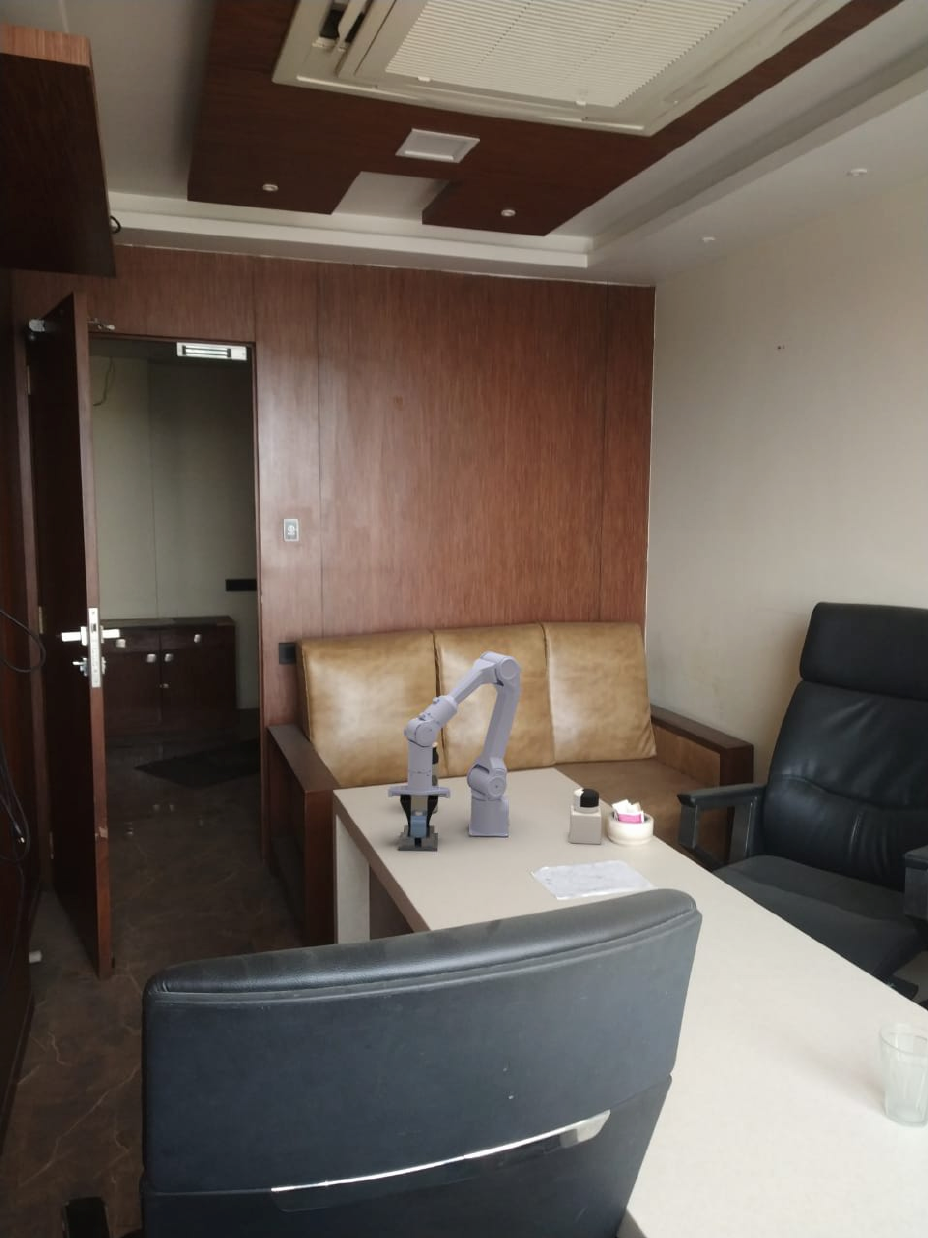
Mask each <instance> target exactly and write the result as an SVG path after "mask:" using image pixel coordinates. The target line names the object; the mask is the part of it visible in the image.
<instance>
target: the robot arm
mask: <svg viewBox="0 0 928 1238" xmlns="http://www.w3.org/2000/svg"><path fill="white" fill-rule="evenodd" d="M522 671H523V669H522V667H521V665H520V663H519V662H518V661H517V659H516V658H515V657H513V656H510V655H506V654H501V653H497V652H495V651H492V650H488V651H485V652H483V653H482V654H481V655H480V656H479V658H477V659H476V660H474V661H473V664H472V667H471V668H470V669H469V671H468V672H467V673H466V674H465V675H464V676H463V677H462V679H460V681H459V682H458V683H457V684H456V685H455V686H454V688H452V690H451V691H450V692H449V693H447V695H439V696H438V697H437V696H436V697H434V698H433V699H432V703H431V704H430V705H429V706H428V707H427V708H425V710H424V711H423V712H420V713H419V714H418V717H415V718H412V719H410V720H409V721H408V722H407V724H406V726H405V728H404V729H403V734H404V737H405V739H407V784H406V785H397V786H393V785H392V786H391V785H390V786H388V789H387V790H388V792H387V794H388V795H387V797H389V798H391V797H399V798H400V799H399V802H400V804H401V807H402V810H403V811H404V814H405V817H406V821H407V822H406V823H407V825H408V828H411V824H410V823H411V796H418V797H428V800H427V821H426V828H429V825H431V819H432V816H433V814H434V813H433V811H434V809H435V807H436V805H437V803H438V804H439V798H445V799H451V787H444V786H438V787H437V786H432V749H433V743H434V742H437V740H438V736H439V733H440V732H441V729H443V728H444V726H446V724H448V723H449V721H450V720H452V718H454V716H455V715H456V714H457V713H458V707H459V705H460V704H461V703H462V702H463V701H465V699H467V698H468V697H469V696H470V695H471V694H472V693H474V692H475V691H476V689H478V688H479V687H480V686H481V685H487V684H492V686H493V687H494V689H495V690H496V692H497V695H496V698H495V701H494V706H493V711H492V714H491V717H490V721H489V726H488V728H487V733H486V737H485V740H484V743H483V747H482V752H481V754H480V755H478V756H477V757H476V758H474V760H473V764H472V766H471V767H470V769H469V770H468V772H467V774H466V784H467V786H468V787H469V788H470V793H471V795H470V797H471V798H470V801H471V802H470V807H471V808H470V822H469V823H468V835H469V836H471V837H472V836H474V837H509V827H510V818H509V817H510V800H509V799H510V798H509V796H507V795H504V793H505V792H506V790H507V786H508V784H507V775H508V769H507V766H506V764H505V762H504V758H505V754H506V750H507V747H508V744H509V739H510V736H511V732H512V728H513V724H514V720H515V717H516V713H517V709H518V705H519V702H520V697H521V694H522V685H521V677H520V676H521V673H522Z"/></svg>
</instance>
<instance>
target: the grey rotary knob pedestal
mask: <svg viewBox="0 0 928 1238" xmlns="http://www.w3.org/2000/svg"><path fill="white" fill-rule="evenodd" d="M599 805H600V793H599V792H598V791H596V790H594V789H592V788H579V789H576V790H575V791H574V792H573V805H572V804H571V805H570V817H569V818H570V819H569V842H570V844H582V845H583V844H585V845H601V843H602V842H601V839H602V838H601V837H602V819H603V818H602V812H601V811H602V810H601V807H600V806H599Z"/></svg>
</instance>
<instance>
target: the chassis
mask: <svg viewBox="0 0 928 1238" xmlns="http://www.w3.org/2000/svg"><path fill="white" fill-rule="evenodd" d="M435 829H436V827H435V825H433V824H432V825H431V824H429V828H427V832H426V837H422V838H416V837H410V834H411V828H408V824H405V825H404V826H403V831H401V832H400V835H399V841H398V845H397V846H398V847H397V850H398V852H399V851H403V852H405V851H406V852H407V851H408V852H413V851H414V852H438V844H439V832H435Z"/></svg>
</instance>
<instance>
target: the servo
mask: <svg viewBox="0 0 928 1238" xmlns="http://www.w3.org/2000/svg"><path fill="white" fill-rule="evenodd" d="M426 821H427V809H412V812H411V823H410V824H411V834H410V837H416V838H422V837H426V832H427V828H426Z"/></svg>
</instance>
